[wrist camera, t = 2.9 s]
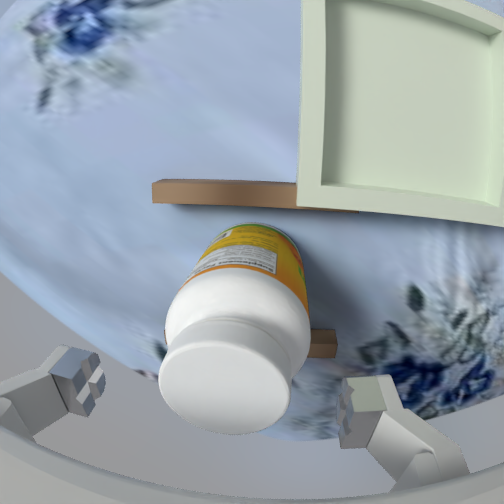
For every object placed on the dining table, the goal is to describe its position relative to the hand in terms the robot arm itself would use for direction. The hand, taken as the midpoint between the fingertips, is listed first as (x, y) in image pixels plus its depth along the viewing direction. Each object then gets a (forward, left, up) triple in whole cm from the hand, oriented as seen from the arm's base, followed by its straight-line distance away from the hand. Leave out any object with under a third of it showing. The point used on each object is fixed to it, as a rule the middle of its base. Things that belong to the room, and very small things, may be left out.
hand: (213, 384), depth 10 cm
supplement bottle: (0, 0, -9) cm, 9 cm away
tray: (-8, -10, -9) cm, 16 cm away
